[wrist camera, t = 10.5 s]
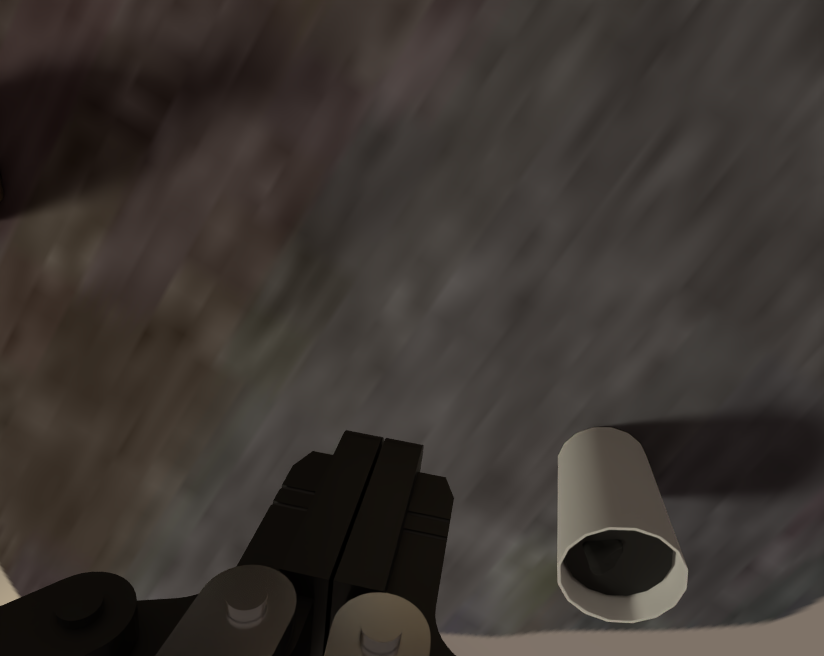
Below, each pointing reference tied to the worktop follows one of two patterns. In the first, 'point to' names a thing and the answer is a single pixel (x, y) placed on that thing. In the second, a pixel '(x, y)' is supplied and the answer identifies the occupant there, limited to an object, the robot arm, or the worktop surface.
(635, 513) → the white cup
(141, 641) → the robot arm
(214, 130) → the worktop surface
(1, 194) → the beer bottle
